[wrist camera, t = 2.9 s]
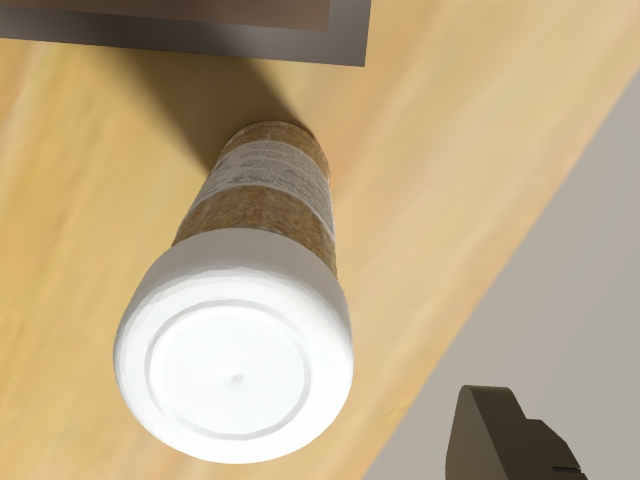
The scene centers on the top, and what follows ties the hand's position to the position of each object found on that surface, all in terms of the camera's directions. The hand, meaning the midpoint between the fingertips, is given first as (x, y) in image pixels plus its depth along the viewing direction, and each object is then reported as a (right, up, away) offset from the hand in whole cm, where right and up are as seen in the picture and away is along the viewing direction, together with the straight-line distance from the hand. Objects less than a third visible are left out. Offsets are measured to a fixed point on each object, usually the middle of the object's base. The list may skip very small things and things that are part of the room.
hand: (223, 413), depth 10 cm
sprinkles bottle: (0, +6, +13) cm, 15 cm away
